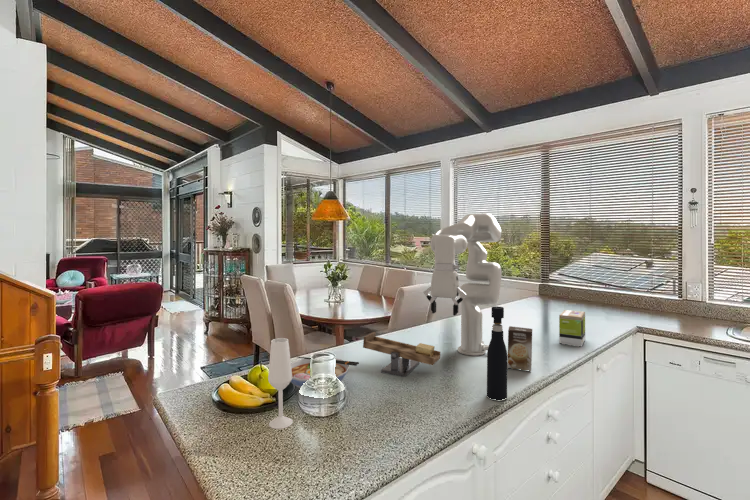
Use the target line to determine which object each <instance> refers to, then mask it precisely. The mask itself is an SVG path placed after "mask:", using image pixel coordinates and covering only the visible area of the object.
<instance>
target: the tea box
mask: <svg viewBox="0 0 750 500" xmlns="http://www.w3.org/2000/svg"><path fill="white" fill-rule="evenodd" d="M558 319H559V320H558V322H559V323H558V324H559V325H558V328H559V329H558V331H559V332H558V333H559V334H558V335H559V336H558V338H559V339H558V341H559V344H560V343H562V344H561V345H565V344H568V345H567V346H571V345H575V346H574V347H579V346H581V347H582V346H583V344H584V342H585V340H586V311H582V310H581V311H579V310H570V309H569V310H567V309H564V310H563V311H562V312H561V313H560V314H559V317H558Z"/></svg>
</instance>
